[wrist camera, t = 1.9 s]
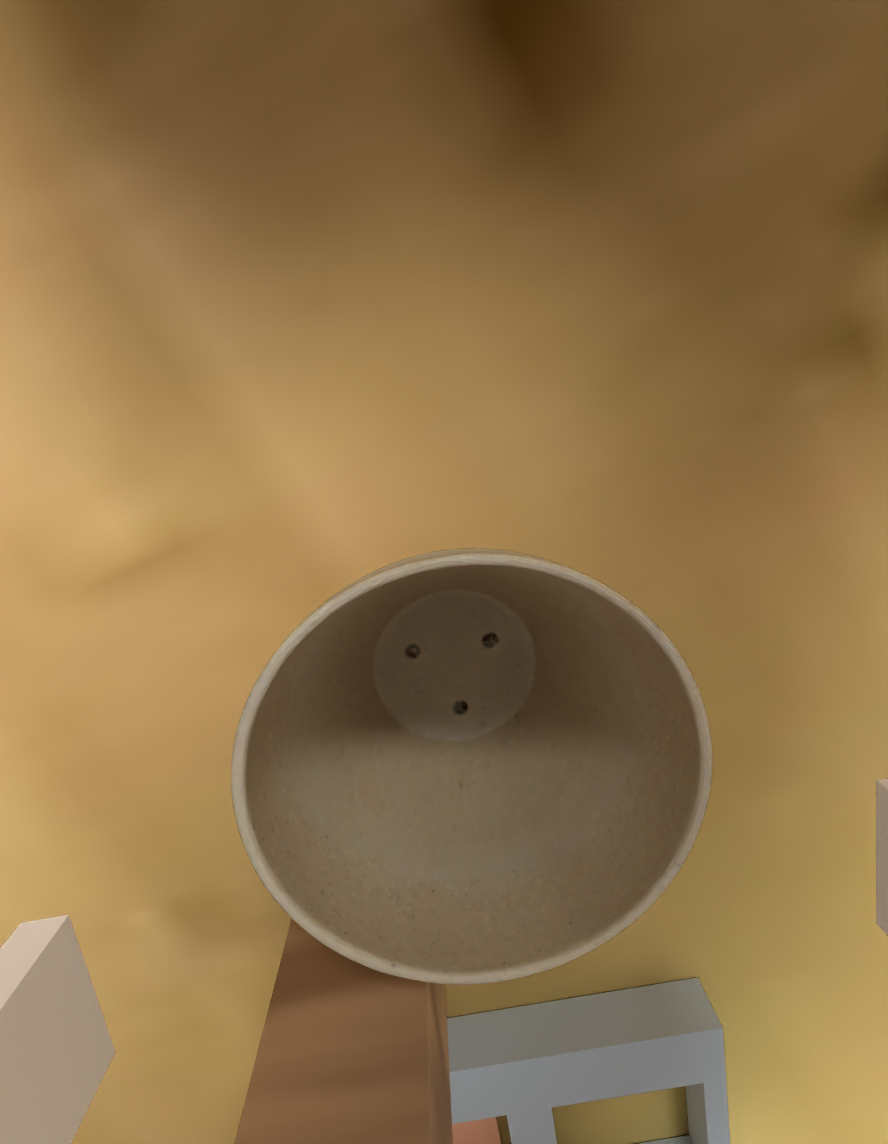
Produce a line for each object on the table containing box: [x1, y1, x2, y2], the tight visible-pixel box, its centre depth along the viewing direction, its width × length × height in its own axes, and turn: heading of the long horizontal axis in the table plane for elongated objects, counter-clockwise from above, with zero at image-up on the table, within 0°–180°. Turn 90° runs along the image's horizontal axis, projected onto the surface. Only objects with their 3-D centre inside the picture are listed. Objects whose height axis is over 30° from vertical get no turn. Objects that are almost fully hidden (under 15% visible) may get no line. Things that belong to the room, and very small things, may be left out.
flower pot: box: [231, 548, 713, 985], centre depth 16 cm, size 10×10×7 cm
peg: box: [235, 919, 453, 1144], centre depth 16 cm, size 4×4×12 cm
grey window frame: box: [447, 978, 730, 1144], centre depth 24 cm, size 10×14×2 cm
